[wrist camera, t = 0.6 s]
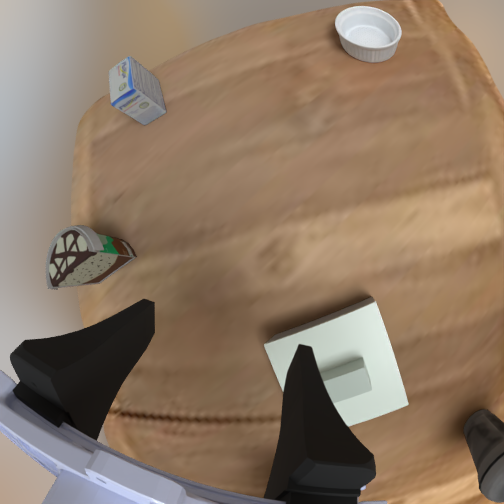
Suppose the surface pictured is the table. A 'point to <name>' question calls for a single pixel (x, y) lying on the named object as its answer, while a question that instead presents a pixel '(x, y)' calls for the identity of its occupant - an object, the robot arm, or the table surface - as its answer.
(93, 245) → the food container
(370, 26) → the ramekin
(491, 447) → the beverage cup
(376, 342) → the lid
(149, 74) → the medicine box
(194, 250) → the table surface
